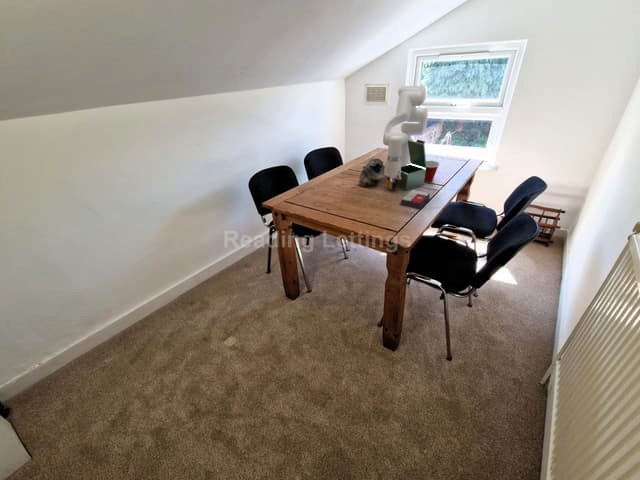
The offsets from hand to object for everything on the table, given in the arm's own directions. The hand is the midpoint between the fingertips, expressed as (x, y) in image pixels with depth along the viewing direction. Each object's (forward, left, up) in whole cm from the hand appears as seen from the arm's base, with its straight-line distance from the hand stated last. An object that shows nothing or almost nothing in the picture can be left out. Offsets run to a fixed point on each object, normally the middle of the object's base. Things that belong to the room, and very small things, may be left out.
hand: (391, 186), depth 177 cm
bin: (0, +14, -2) cm, 14 cm away
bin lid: (0, +19, +17) cm, 25 cm away
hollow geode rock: (-19, +2, -2) cm, 19 cm away
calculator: (+21, -1, -2) cm, 21 cm away
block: (0, 0, 0) cm, 0 cm away
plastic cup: (+3, +30, -2) cm, 30 cm away
